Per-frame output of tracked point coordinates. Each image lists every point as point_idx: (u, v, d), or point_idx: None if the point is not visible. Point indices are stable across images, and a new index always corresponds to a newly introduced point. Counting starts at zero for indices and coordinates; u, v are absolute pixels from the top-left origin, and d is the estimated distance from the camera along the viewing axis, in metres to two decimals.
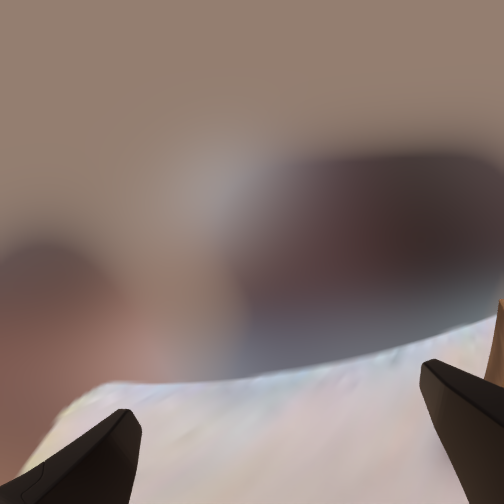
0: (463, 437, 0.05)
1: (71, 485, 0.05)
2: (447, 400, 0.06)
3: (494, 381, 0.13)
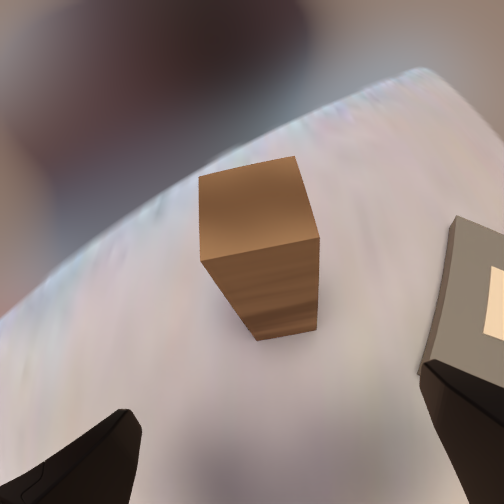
0: (463, 437, 0.05)
1: (71, 485, 0.05)
2: (447, 400, 0.06)
3: None
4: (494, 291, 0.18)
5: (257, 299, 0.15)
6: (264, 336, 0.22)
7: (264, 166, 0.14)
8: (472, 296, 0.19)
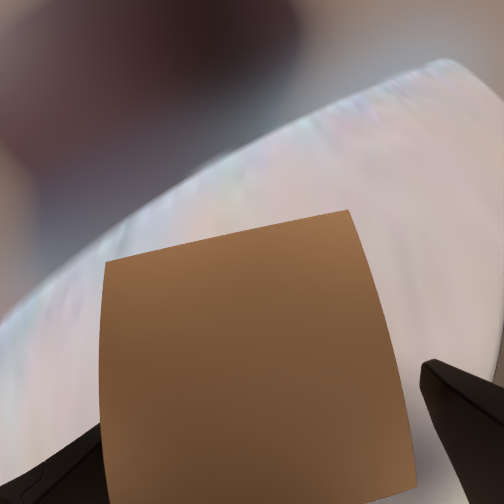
0: (463, 437, 0.05)
1: (71, 485, 0.05)
2: (447, 400, 0.06)
3: None
4: None
5: None
6: None
7: (267, 242, 0.05)
8: None
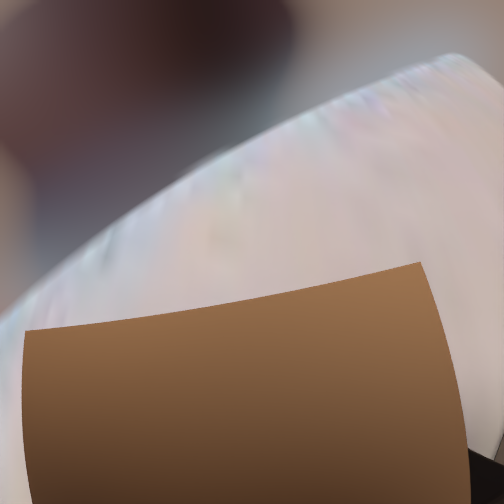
0: None
1: None
2: None
3: None
4: None
5: None
6: None
7: (275, 331, 0.03)
8: None
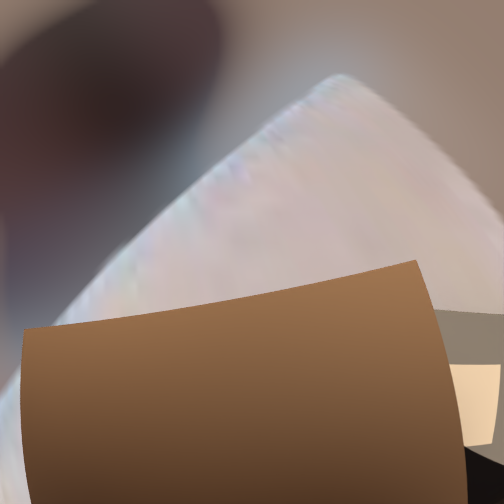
0: None
1: None
2: None
3: None
4: None
5: None
6: None
7: (269, 328, 0.03)
8: None
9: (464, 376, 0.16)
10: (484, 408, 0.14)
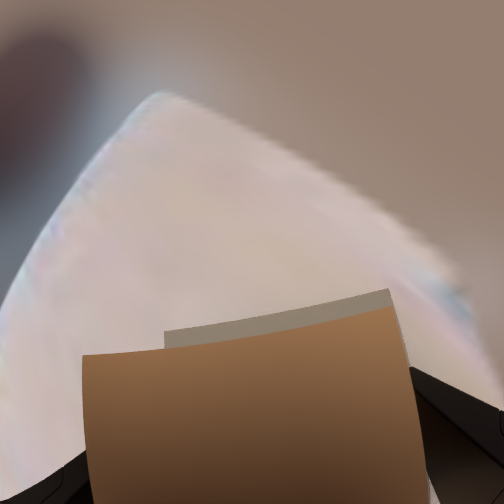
0: (438, 448, 0.05)
1: None
2: (421, 410, 0.06)
3: None
4: None
5: None
6: None
7: (286, 355, 0.04)
8: None
9: None
10: None
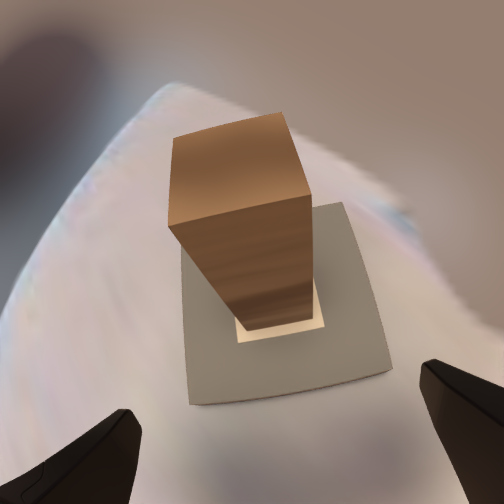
0: (463, 437, 0.05)
1: (71, 486, 0.05)
2: (447, 400, 0.06)
3: None
4: None
5: (241, 278, 0.13)
6: (254, 326, 0.20)
7: (247, 123, 0.11)
8: (214, 311, 0.22)
9: None
10: None
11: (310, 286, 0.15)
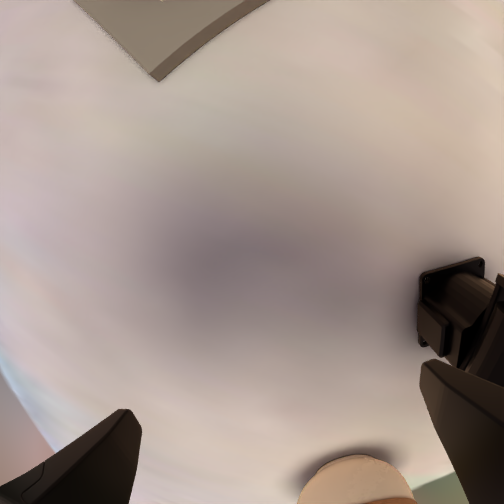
0: (463, 437, 0.05)
1: (71, 485, 0.05)
2: (447, 400, 0.06)
3: None
4: None
5: None
6: None
7: None
8: None
9: None
10: None
11: None
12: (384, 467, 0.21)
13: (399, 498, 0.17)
